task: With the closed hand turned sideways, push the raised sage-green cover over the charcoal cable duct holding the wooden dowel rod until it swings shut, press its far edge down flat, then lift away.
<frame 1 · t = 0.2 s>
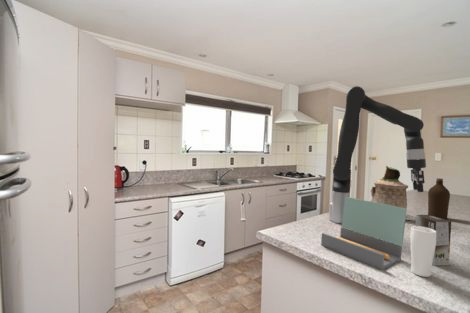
hand: (418, 190, 119), 22 cm above the counter, tool pointing down, fingers open, 8 cm apart
drinking glass: (420, 274, 79), on the counter
wooden dowel rod: (358, 251, 95), resting on cable duct
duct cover: (371, 218, 100), point 12 cm above the counter, hinge at 98.0°
coffee box: (430, 260, 90), on the counter
cookie jar: (387, 215, 155), on the counter
cable duct: (358, 251, 95), on the counter
olive oil: (437, 217, 152), on the counter
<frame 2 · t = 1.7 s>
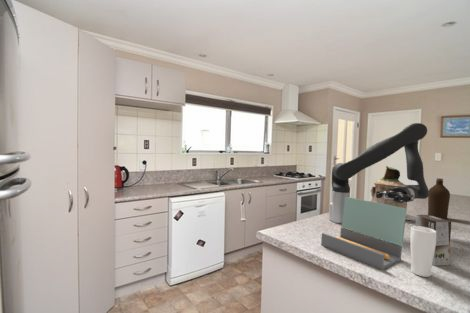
hand: (386, 197, 107), 20 cm above the counter, tool horizontal, fingers open, 7 cm apart
nothing on the counter moved.
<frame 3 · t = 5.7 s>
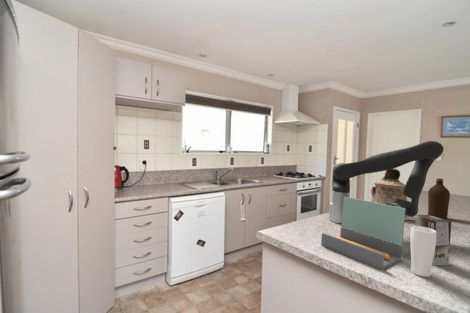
hand: (371, 216, 99), 13 cm above the counter, tool horizontal, fingers closed
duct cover: (370, 218, 99), point 12 cm above the counter, hinge at 92.6°, touching gripper
everything else where it was.
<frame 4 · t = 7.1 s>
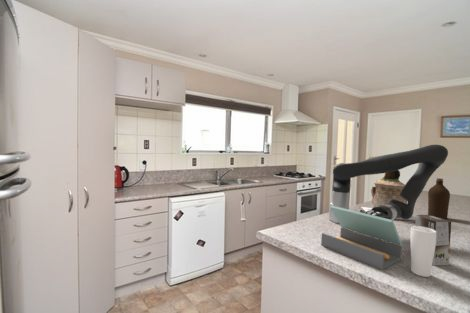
hand: (363, 219, 96), 13 cm above the counter, tool horizontal, fingers closed
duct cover: (363, 224, 96), point 11 cm above the counter, hinge at 47.5°, touching gripper
everything else where it was.
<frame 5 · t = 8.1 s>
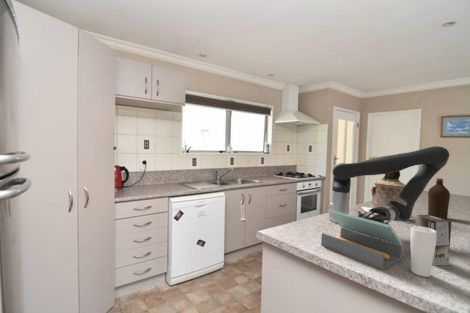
hand: (361, 220, 95), 13 cm above the counter, tool horizontal, fingers closed
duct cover: (362, 226, 96), point 10 cm above the counter, hinge at 38.3°, touching gripper
everything else where it was.
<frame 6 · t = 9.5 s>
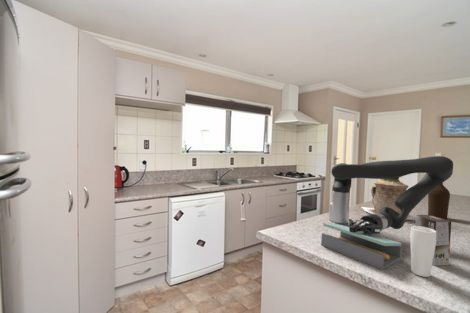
hand: (351, 229, 91), 10 cm above the counter, tool horizontal, fingers closed
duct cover: (360, 233, 95), point 7 cm above the counter, hinge at 11.7°
everything else where it was.
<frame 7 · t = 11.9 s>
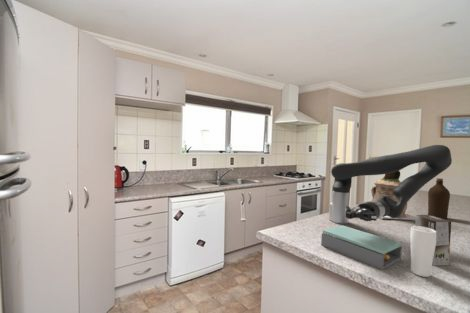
hand: (347, 215, 90), 16 cm above the counter, tool horizontal, fingers closed
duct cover: (359, 237, 95), point 6 cm above the counter, hinge at -0.1°
everything else where it was.
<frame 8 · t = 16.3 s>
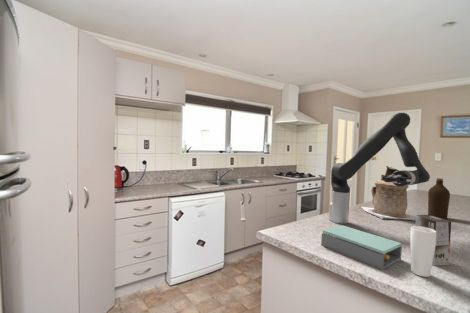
hand: (386, 179, 106), 28 cm above the counter, tool horizontal, fingers closed
nothing on the counter moved.
at the end: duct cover at +0° (first picture: +98°) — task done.
